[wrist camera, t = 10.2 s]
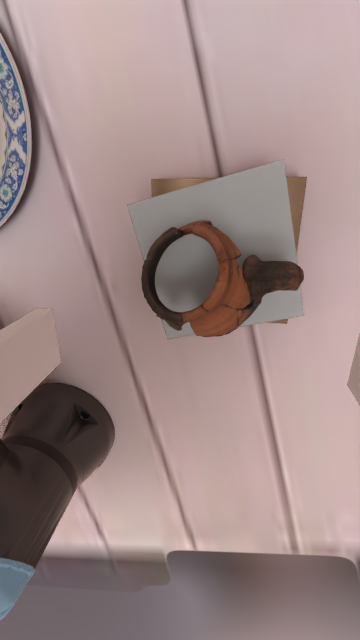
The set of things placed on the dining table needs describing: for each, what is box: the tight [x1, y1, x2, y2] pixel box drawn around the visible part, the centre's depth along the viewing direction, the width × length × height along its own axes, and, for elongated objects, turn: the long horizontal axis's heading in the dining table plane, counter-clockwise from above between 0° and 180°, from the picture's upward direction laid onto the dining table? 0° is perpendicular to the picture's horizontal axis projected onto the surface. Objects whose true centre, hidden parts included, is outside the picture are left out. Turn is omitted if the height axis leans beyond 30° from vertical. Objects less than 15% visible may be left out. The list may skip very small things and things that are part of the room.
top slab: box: [127, 159, 304, 339], centre depth 29 cm, size 13×13×4 cm
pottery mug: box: [141, 220, 304, 337], centre depth 25 cm, size 12×10×8 cm
